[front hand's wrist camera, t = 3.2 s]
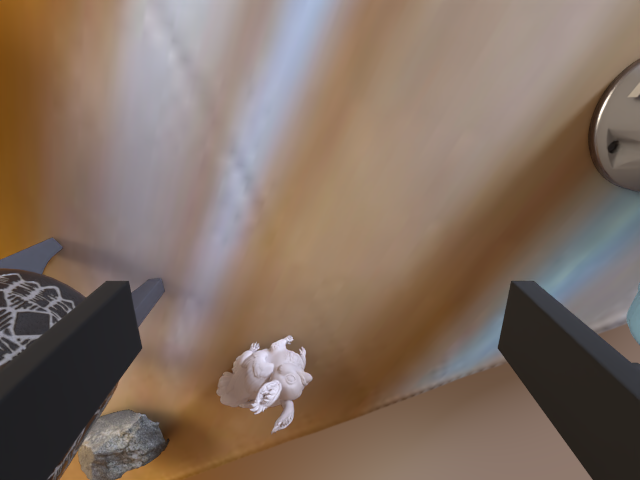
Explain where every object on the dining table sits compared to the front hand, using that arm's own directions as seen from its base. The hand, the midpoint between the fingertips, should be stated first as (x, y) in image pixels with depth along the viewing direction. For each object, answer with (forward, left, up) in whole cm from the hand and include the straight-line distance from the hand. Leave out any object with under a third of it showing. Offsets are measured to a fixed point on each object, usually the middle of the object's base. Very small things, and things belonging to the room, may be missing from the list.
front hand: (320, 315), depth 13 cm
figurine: (-4, +28, -32) cm, 43 cm away
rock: (+10, +48, -32) cm, 59 cm away
